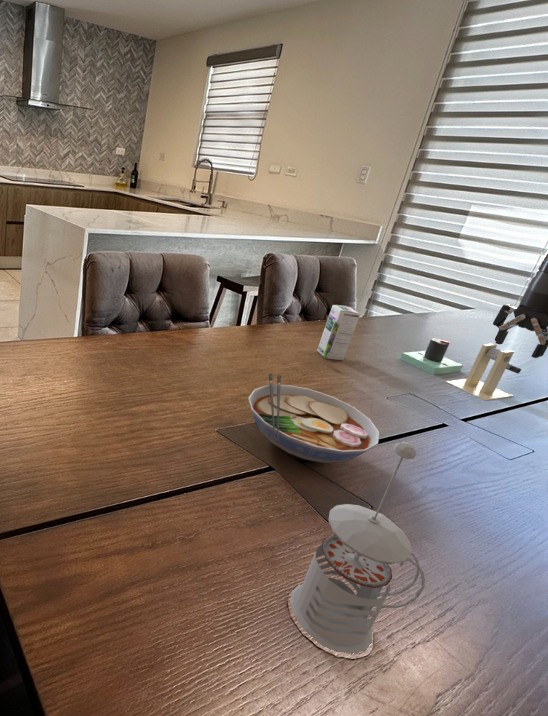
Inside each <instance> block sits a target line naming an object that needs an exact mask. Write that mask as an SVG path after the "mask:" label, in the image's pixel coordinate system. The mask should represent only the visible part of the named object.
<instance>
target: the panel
mask: <svg viewBox="0 0 548 716" xmlns="http://www.w3.org/2000/svg"><path fill="white" fill-rule="evenodd" d="M425 352H426V350H421V351H410V352H409V351H407V352H402V354H401V355H400V360H401V361H403V362H405V363H407V364H409V365H412V366H414V367H415V368H418V369H420V370H422V371H425V372H427V373H429V374H430V375H433V376H434V375H443V374H452V373H460V372H461V370H462V369H463V367H464V365H463V364H461V363H459V362H456V361H455V360H452V359H449V358H447V357H446V356H444V357H443V359H442V361H441V362H435V361H431V360H428V359H426V358H425V357H424V354H425Z"/></svg>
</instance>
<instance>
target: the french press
mask: <svg viewBox="0 0 548 716" xmlns="http://www.w3.org/2000/svg"><path fill="white" fill-rule="evenodd" d="M392 450H393V451H392V452H394V454H395V455H396V456H398V457H400V458H399V461H398V463H397V465H396V466H395V469H394V472H393V474H392V476H391V478H390V481H389V483H388V486H387V487H386V490H385V492H384V494H383V497H382V498H381V501H380V502H379V505H378V508H377V509H376V511H375V510H372V509H370V508H368V507H365V506H361V505H359V504H349V503H344V504H336V505H335V506H333V508H331V509H330V510H329V514H328V523H329V525H330V528H331V530H332V532H333V534H330V535H327V536H326V537H325V538H324V539H322V541H321V542H322V543H321V544H320V545H319V546H317V548H316V550H315V552H314V554H313V556H312V559H311V562H310V565H309V567H308V569H307V572H306V575H305V577H304V579H303V582H302V583H301V584H302V585H300V584H297V585H298V586H297V587H296V588H295V589H294V590H292V589H291V590H292V592H291V599H290V605H291V608H292V610H293V613H294V615H295V618H297V620H298V622H299V624H300V625H301V626H302V628H303V629H304V631H306V632H307V633H308V634H309V635H311V637H313V639H314V640H315V641H317V642H318V643H320V644H321V645H322V646H324V647H327V648H329V649H330V650H331V649H332V650H334V651H336V652H344V653H345V652H346V653H349V654H350V653H351V655H352V654H353V653H354V654H355V653H359V652H361V651H364V652H365V651H366V650H367V648H368V647H369V645H370V644H371V643H372V630H373V626H374V624H375V622H376V620H377V618H378V616H379V614H380V613H381V611H382V609H398V608H402V607H407V606H408V605H410V604H412V603H414V602H415V601H416V600H418V598H419V597H420V596H421V594H422V592H423V590H424V588H425V587H426V577H425V573H424V571H423V570H422V569H421V567H420V563H419V561H420V560H419V559H418V557H416V555H415V554H414V552H412V545H411V541H410V540H409V538H408V537H407V536H406V534H405V532H404V531H403V530H402V529H401V528H400V527H399V526H397V525H396V523H394V522H393V521H391V520H390V519H389V518H388V517H387V516H385V515H384V514H383V513H381V512H380V510H381V508H382V506H383V504H384V502H385V500H386V497H387V495H388V493H389V491H390V488H391V486H392V484H393V482H394V480H395V477H396V475H397V473H398V471H399V468H400V466H401V464H402V462H403V460H404V459H405V460H414V459H415V457H417V456H416V455H417V453H416V452H417V451H416V448H415V446H414V445H413V444H411V443H409V442H408V441H401V442H397V443H395V444H394V445H393V449H392ZM410 555H411V557H412V558H413V559H414V560H412V558H409V557H410ZM321 556H324V557H323V558H320V559H317V558H319V557H321ZM406 561H407V562H410V563H411V564H412V565H414V567H416V574H415V575H414V577H413V579H412V581H411V582H410V583H409V584H408V585H407V586H406V587H404V588H403V589H402V590H399V591H395V592H390V591H391V586H390V585H391V584H390V582H391V581H392V580H393V571H392V568H391V566H390V565H393V564H398V566H400V567H403V565H404V564H405V562H406ZM324 562H325V564H321V563H324ZM326 562H327V563H326ZM320 564H321V565H320ZM328 568H332V569H329V570H324V569H328ZM327 575H334V576H338V577H341V578H342V579H344V580H345V581H346V582H348V583H349V584H350V585H351V586H352V587H353V588H351V587H350V586H349V585H348V584H346V583H345V582H344V581H342V580H341V579H338V578H334V577H332V576H327ZM419 576H420V578H421V585H420V587H419V589H418V590H417V592H416V594H415V595H414V596H413V597H412V598H409V600H408V601H406V602H403V603H398V604H385V605H384V603H385V601H386V599H387V598H388V596H389V597H390V596H397V595H400V594H403V593H405V592H406V591H408V590H410V589H411V588H412V587H413V586H415V584H416V582H417V580H418V578H419ZM384 587H386V589H385V591H384V592H382V590H383V588H384ZM353 589H354V590H355V591H356V592H357V593H355V592H354V591H353ZM379 597H380V598H379ZM373 608H376V609H375V610H372V609H373ZM369 616H372V617H371V618H369ZM371 628H372V629H371Z"/></svg>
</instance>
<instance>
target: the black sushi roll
mask: <svg viewBox="0 0 548 716" xmlns="http://www.w3.org/2000/svg"><path fill="white" fill-rule="evenodd" d="M450 344H451V343H450V341H447V340H444V339H441V338H436V337H433V338H432V337H431V338H430V340H429V343H428V345H427V347H426V350H425V351H426V352H425V354H424V357H425V358H426V359H428V360H431V361H435V362H441V361H442V359H443V357H445V354H446V352H447V350H448V348H449V346H450Z"/></svg>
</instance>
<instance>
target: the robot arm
mask: <svg viewBox="0 0 548 716" xmlns="http://www.w3.org/2000/svg"><path fill="white" fill-rule="evenodd" d="M520 299H521V300H520V301H519V304H518V306H517V307H515V306H513V304H503V305H502V306H501V308H500V309H499V311H498V313H497V315H496V316H495V318H494V320H493V322H492V325H493V326H495V327H497V328H498V331H497V333H496V335H495V338H494V341H495V342H494V343H495V345H503V344H504V342H505V340H506V338H507V337H508V334H509V332H510V330H511V329H514V328H515V327H518V328H522V329H526V330H527V331H529V332H534V333H535V336H536V337H537V339H538V343H537V345H536V347H535V348H534V349H533V352H532V354H531V358H533V359H539V358H540V357H543V356H544V354H545V353H546V351H547V349H548V251H547V252H546V253H545V255H544V257H543V258H542V260H541V262H540V264H539V267H538V268H537V270H536V272H535V274H533V275H532V278H531V279H530V281H529V282H528V284H527V287H526V289H525V292H524V294H523V295H522V297H521V298H520ZM511 314H513V315H514V318H512V319H510V320H508V321H506V320H507V319H508V316H509V315H511Z"/></svg>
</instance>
